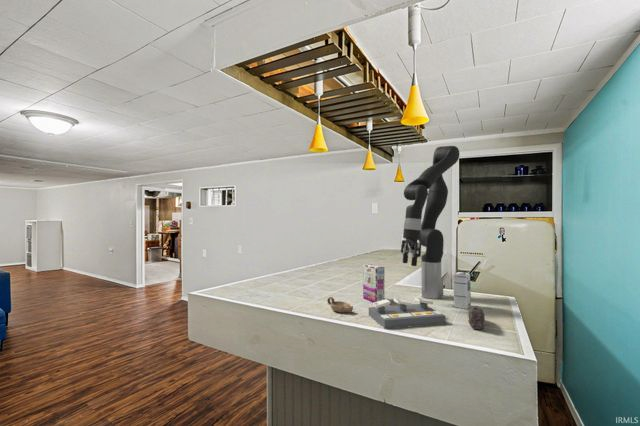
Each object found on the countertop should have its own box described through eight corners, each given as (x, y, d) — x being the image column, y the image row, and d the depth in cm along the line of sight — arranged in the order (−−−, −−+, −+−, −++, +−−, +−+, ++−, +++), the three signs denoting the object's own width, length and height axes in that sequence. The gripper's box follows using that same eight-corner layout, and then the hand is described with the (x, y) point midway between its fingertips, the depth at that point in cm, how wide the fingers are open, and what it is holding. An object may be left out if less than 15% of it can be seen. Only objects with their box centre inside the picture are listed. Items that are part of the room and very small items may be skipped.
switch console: (422, 310, 134) (422, 298, 134) (445, 323, 119) (445, 309, 119) (368, 314, 129) (368, 302, 129) (384, 328, 114) (384, 314, 114)
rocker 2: (427, 301, 130) (428, 299, 130) (432, 304, 127) (433, 301, 127) (414, 299, 129) (415, 297, 129) (419, 302, 125) (419, 299, 125)
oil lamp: (357, 312, 133) (357, 300, 133) (345, 316, 128) (344, 304, 128) (334, 306, 142) (334, 294, 142) (322, 309, 137) (322, 297, 137)
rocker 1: (386, 301, 126) (386, 298, 126) (390, 303, 123) (390, 301, 123) (372, 305, 125) (372, 302, 125) (376, 308, 122) (375, 305, 122)
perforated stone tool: (469, 318, 125) (469, 300, 125) (484, 320, 122) (484, 302, 122) (467, 331, 111) (467, 311, 111) (484, 333, 109) (484, 313, 109)
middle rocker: (407, 303, 128) (407, 300, 128) (411, 305, 125) (412, 303, 125) (393, 301, 127) (394, 298, 127) (397, 303, 124) (398, 300, 124)
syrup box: (467, 309, 136) (467, 275, 136) (453, 306, 140) (453, 273, 140) (471, 306, 141) (470, 273, 141) (456, 303, 144) (456, 271, 144)
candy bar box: (385, 302, 147) (385, 266, 147) (376, 304, 145) (375, 267, 145) (371, 297, 157) (371, 263, 157) (362, 298, 155) (362, 264, 155)
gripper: (428, 230, 139) (424, 267, 138) (412, 228, 153) (409, 262, 152) (412, 228, 137) (408, 266, 137) (397, 227, 151) (394, 261, 151)
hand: (409, 264), depth 145 cm, fingers open, 8 cm apart
